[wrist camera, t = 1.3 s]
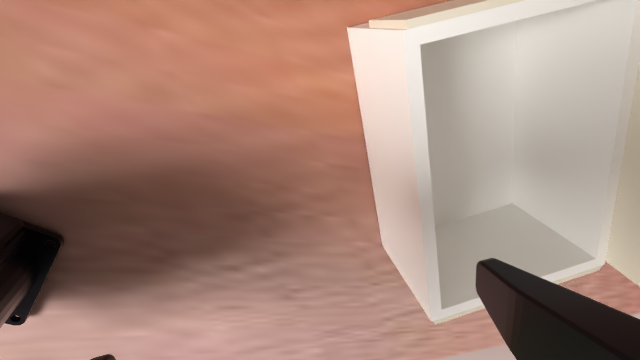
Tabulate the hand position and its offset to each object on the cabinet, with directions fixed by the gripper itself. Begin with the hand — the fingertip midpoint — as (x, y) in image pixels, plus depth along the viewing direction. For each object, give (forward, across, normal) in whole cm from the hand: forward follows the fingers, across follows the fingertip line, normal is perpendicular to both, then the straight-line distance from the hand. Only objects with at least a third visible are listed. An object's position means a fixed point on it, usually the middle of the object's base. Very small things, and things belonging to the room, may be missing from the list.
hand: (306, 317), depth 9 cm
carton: (+13, -10, +1) cm, 17 cm away
